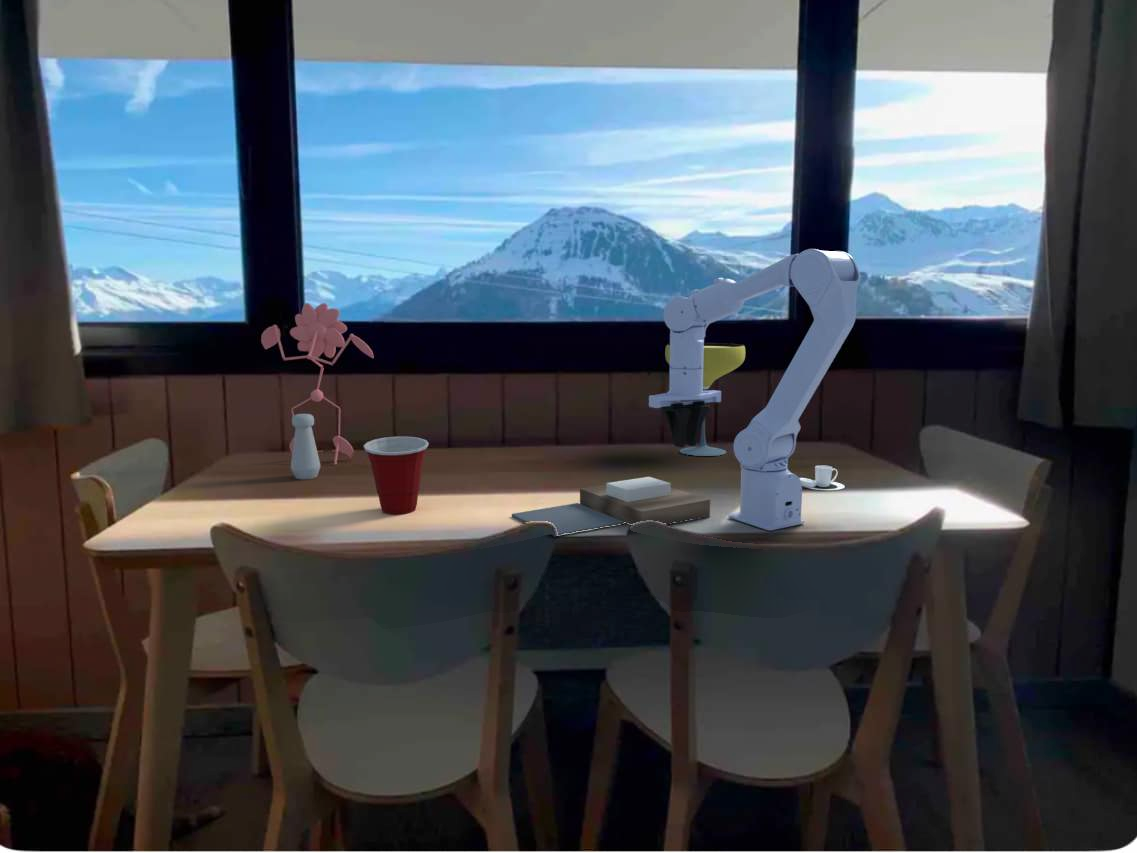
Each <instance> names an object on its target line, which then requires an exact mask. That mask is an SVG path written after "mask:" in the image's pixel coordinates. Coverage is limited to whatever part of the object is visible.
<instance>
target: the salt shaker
mask: <svg viewBox="0 0 1137 853" xmlns="http://www.w3.org/2000/svg"><path fill="white" fill-rule="evenodd" d="M291 424H292V427H294V428H295V427H296V428H295V430H294V437H293V438H294V445H293V453H292V452H291V460H290V470H291V472H292V474H293V476H294V478H295V479H296V480H301V481H303V480H312V479H315V478H317V477H318V475H319V472H320V469H321V462H320V457H319V452H317V451H318V449H317V443H316V441H315V440H316V439H315V437H314V431H313V428H312V426H314V425H315V418H314V415H312V414H311V413H298V414H294V416H292V417H291Z"/></svg>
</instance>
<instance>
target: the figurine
mask: <svg viewBox="0 0 1137 853" xmlns="http://www.w3.org/2000/svg"><path fill="white" fill-rule="evenodd" d="M294 316H295V317H294V320H295V323H296V326H295V327H292V328H291V329H290V330H289V334H290V336H291V337H292V338H293V339H295V340H297V341H298V343H297V349H298V351H299V352H308V354H307V355H300V356H292V357H291V356H289V357H286V356H285V353H284V349H283V345H282V342H281V337H282V336H281V330H280V328H279V327H278V325H277V324H273V325H272V326H269V327H267V328H266V329H265V330H264V331H263V332H262V334H261V337H260V338H261V339H260V342H261V344H262V346H263V349H265V350H267V349H269V348H271V347H273V346H275V345H276V344H277V343H278V348H279V351H280V354H281V357H282V359H283V361H292V360H300V359H307V360H311V361H312V362H313V363H315V364H316V365H317V366H318V367H320V371H319V376H318V382H317V387H316V389H314V390H312V392H311V393H310V397H309V398H307V399H306V400H304V401H302V402H300V403H299V404H297V405H294V406H293V407H291V410H290V411H291V416H292V417H293V416H294V415H295V413H294V410H295V409H296V408H298V407H299V406H302V405H304V404H305V403H307V402H309V401H310V400H312V401H313V402H315V403H316V402H318V403H319V402H321V401H322V400H323V399H324V400H325V401H327V402H328V403H329V404H332V406H334V407H336V408H337V409H338V425H337V426H338V427H337V428H338V432H337V434H338V435H334V436H333V438H332V442H333V445H334V447H335V449H334V450H333V452H335V453H334V461H333V465H338V464H337V463H338V456H339V455H338V454H339V452H340V453H342V454H343V455H345V456H346V457H348V458H350V459H354V455H355V454H354V453H355V450H354V449H353V446H352V445H351V443H349V441H348V440H346V438H344V437H343V436H341V407H340V406H338V405H337V404H335V403H334V402H333V401H331V400H329V399H328V398H327V397H325V396H324V392H323V391H322V390H320V385H321V382H322V376H323V373H324V369H325V368H324V365H323V364H328V365H330V366H334V364H335V363H336V362H337V361H338V359H339V357H340V356H341V355H342V353H343V352H344V351H345V349H346V347H347V346H348V345H349V343H350V341H352V343H353V344H354V345H355V346H356V348H358V349H359V350H360V351H361V352H362V353H363V354H365V355H367V356H368V357H369V358H372V359H374V358H375V356H374V353H373V350H372V349H371V348H370V346H369V345H368V344H367V343H366V342H365V341H364V340H363V339H361V338H360V337H358V336H356V335H354V333H350V334H349V337H348V338H347V340H346V341H345V339H344V337H343V335H342V334H344V333H346V332H347V330H348V327H347V325H346V324H345V323H343V322H342V321H340V320H338V318H339V317H340V310H339V309H337V308H331V307H330V308H328V304H327V303H325V302H324V303H321V304H319V305H317V306H316V307H315V308H314V307H313V306H312V304H310V303H308V302H306V303H304V304H303V306H302V309H301V313H297V314H296V315H294ZM336 348H341V349H340V350H339V351H338V353H337V354H336V352H337V349H336ZM323 353H324V356H325V357H326V358H329V359H333V360H332V361H328V360H325V359H323V358H320V356H321V355H323ZM335 355H336V356H335ZM333 357H334V358H333ZM320 362H321V363H323V364H321V363H320ZM294 428H296V427H294ZM293 445H294V437H293V438H292V440H291V441H290V442H289V450H290V452H291V454H292V453H293ZM319 452H322V450H317V453H319ZM363 464H364V462H363V463H359V465H360V466H361V465H363Z"/></svg>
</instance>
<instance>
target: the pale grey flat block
mask: <svg viewBox="0 0 1137 853" xmlns="http://www.w3.org/2000/svg"><path fill="white" fill-rule="evenodd" d="M605 485H606V495H609V496H612V497H614V498H617V499H620V500H623V501H625V502H631V501H637V500H643V499H649V498H655V497H661V496H667V495H670V494H671V487H672V486H671V485H672V483H671V482H668V481H665V480H662V479H658V478H655V477H651V476H645V477H639V478H632V479H625V480H618V481H612V482H606V483H605Z"/></svg>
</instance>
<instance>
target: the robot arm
mask: <svg viewBox="0 0 1137 853" xmlns="http://www.w3.org/2000/svg"><path fill="white" fill-rule="evenodd" d="M861 281H862V275H861V272H860V271H859V268H858V265H857V262H856V260H855V259H854V257H853V256H852V255H850V254H849V253H847V252H845V251H841V250H834V251H829V250H819V249H818V248H817V249H816V248H808V249H805V250H803V251H802V252H799V253H795V254H790V255H788V256H786V257H784V258H783V259H781V260H778V261H777V262H775V263H772V264H770V265H769V266H766V267H764V268H763V269H761V270H758V271H756V272H755V273H751V275H748V276H747V277H744V278H743V279H741V280H738V281H735V280H734V279H731V278H725V279H724V277H717V278H715V279H713V280H712V282H713V284H711V285H709V286H706V287H704V288H701V289H700V290H699V289H693V290H691V291H690V294H689V296H688V297H687V296H681V295H676V296H674V297H673V298H672V299H670V300H669V301H668V302H667V303H666V305H665V306H664V310H663V321H664V323H665V325H666V327H667V328H668V329H669V332H670V333H669V344H670V365H669V383H668V384H669V387H668V388H669V390H668V391H667V392H666V393H665V392H663V393H658V394H655V395H654V394H653V395H648V407H649V408H654V409H659V408H660V409H661V411H662V413H663V415H664V416H665V419H666V421H667V423H668V426H669V429H670V432H671V436H672V441H673V445H674V447H678V448H686V447H685V446H686V445H687V446H690V447H696V445H697V441H698V437H699V433H700V431H701V429H702V423H703V421H704V419H705V420H706V417H707V415H708V414H709V413H710V410H711V406H710V405H709V404H706V403H721V402H722V391H721V390H716V389H715V390H714V389H712V390H708V389H707V390H706V391H703V355H704V343H705V338H706V331H707V328H708V326H709V325H710V324H712V323H715V322H717V321H720V320H722V319H724V318H726V317H729V316H731V315H734V314H736V313H739V312H741V311H742V309H743V306H744V304H745V302H746V301H747V300H748V301H749V300H750V299H754V298H756V297H759V296H762V295H764V294H767V293H770V292H772V291H776V290H778V289H781V288H783V287H784V288H785V287H795V289H796V290H797V291H798V293H799V294H800V295H801V297H802V298H803V299H804V301H805V302H806V303H807V305H808V306H809V309H810V311H811V314H812V316H813V322H812V324H811V325H810V327H809V329H808V331H807V333H806V335H805V336H804V339H803V340H802V342H801V344H800V345H799V347H798V349H797V350H796V353H795V354H794V356H793V358H792V360H791V362H790V363H789V365H788V367H787V368H786V370H785V371H784V373H783V375H782V377H781V379H780V381H779V383H778V384H777V386H776V388H775V390H774V392H773V394H772V396H771V397H770V399H769V401H768V402H767V404H766V406H765V407H764V408H763V409H762V410H761V411H759V413H757V415H755V416H754V417H753V418H752V419H751V420H750V423H749V424H748V425H747V427H745V428H744V429H742V430H741V431H739V433H738V434H737V435H736V436H735V438H734V441H733V452H734V456H735V458H736V459H737V461H738V462H739V463H740V466H739V467H740V468H741V469H740V499H739V500H740V501H739V502H740V503H739V504H740V505H739V511H738V512H735V513H729V514H728V518H730V519H733V520H735V521H739V522H742V523H745V524H748V525H751V526H755V527H756V528H760V529H763V530H766V531H776V530H779V529H784V528H789V527H793V526H797V525H802V524H805V520H803V519H802V504H803V503H802V502H803V501H802V500H803V499H802V498H803V486H802V484H801V481H800V479H799V478H800V477H799V476H798V475H797V474H795V473H792V472H791V471H790V470H789V469H788V465H789V464H788V463H789V462H788V461H789V458H790V457H791V456H792V455H793V453H794V452H795V451H796V450H795V449H796V446H797V437H798V434H799V432H800V430H801V424H800V422H799V420H800V417H802V414H803V413H804V410H805V409H806V408H807V405H808V404H809V403H810V400H811V399H812V397H813V395H814V394H815V392H816V391H817V389H818V387H819V386H820V384H821V382H822V380H823V378H824V377H825V375H826V373H827V372H828V370H829V368H830V366H831V364H832V363H833V362H834V359H835V358H836V356H837V354H838V353H839V351H840V350H841V348H842V345H843V344H844V342H845V340H846V339H847V337H848V336H849V334H850V332H851V330H852V328H853V327H854V324H855V322H856V319H857V318H856V317H857V304H858V303H857V302H858V301H857V299H858V287H859V285H860V283H861Z"/></svg>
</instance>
